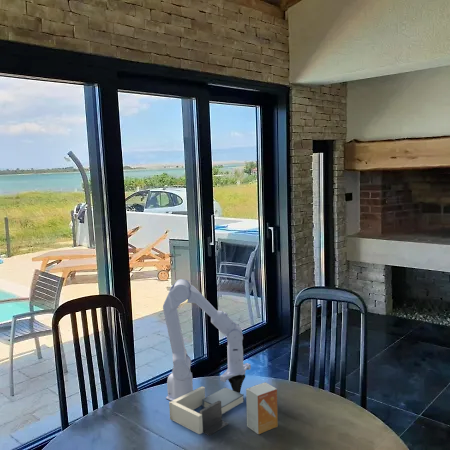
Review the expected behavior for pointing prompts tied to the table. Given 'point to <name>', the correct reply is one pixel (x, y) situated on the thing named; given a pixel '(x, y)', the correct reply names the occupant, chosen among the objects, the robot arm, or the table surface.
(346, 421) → the table surface
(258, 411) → the small box
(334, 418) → the table surface
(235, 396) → the book
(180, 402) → the cream corner tray
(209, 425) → the bookend
